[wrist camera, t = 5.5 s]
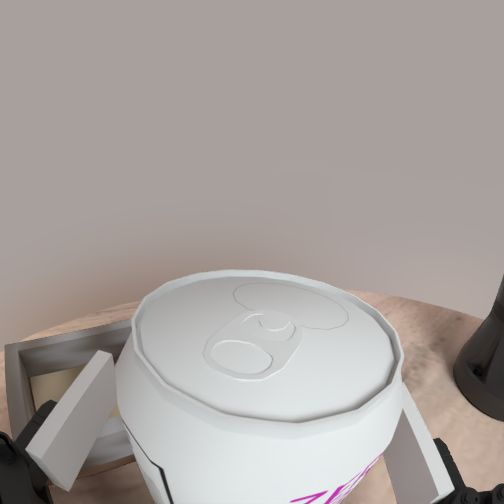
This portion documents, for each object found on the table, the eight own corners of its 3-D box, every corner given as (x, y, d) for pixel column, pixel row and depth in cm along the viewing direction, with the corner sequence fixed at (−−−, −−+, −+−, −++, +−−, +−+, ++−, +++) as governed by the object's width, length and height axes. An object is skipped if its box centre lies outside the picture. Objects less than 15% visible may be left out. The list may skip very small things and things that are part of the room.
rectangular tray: (229, 322, 35) (232, 293, 33) (305, 374, 26) (314, 342, 25) (15, 379, 17) (1, 345, 16) (38, 487, 9) (11, 457, 8)
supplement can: (210, 450, 17) (219, 249, 12) (317, 492, 14) (416, 299, 9) (140, 523, 10) (42, 322, 5) (266, 585, 6) (426, 508, 2)
